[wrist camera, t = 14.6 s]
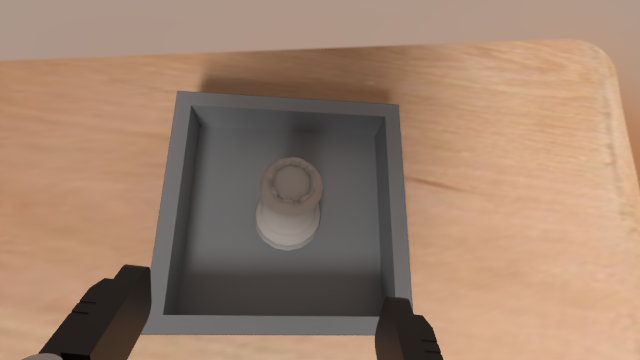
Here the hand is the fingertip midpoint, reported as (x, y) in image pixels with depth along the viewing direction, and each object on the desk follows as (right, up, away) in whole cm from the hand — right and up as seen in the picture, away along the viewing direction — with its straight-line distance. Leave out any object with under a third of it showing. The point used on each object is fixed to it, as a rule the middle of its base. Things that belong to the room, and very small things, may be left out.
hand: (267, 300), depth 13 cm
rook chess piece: (0, +1, +14) cm, 14 cm away
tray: (-1, +1, +14) cm, 15 cm away
